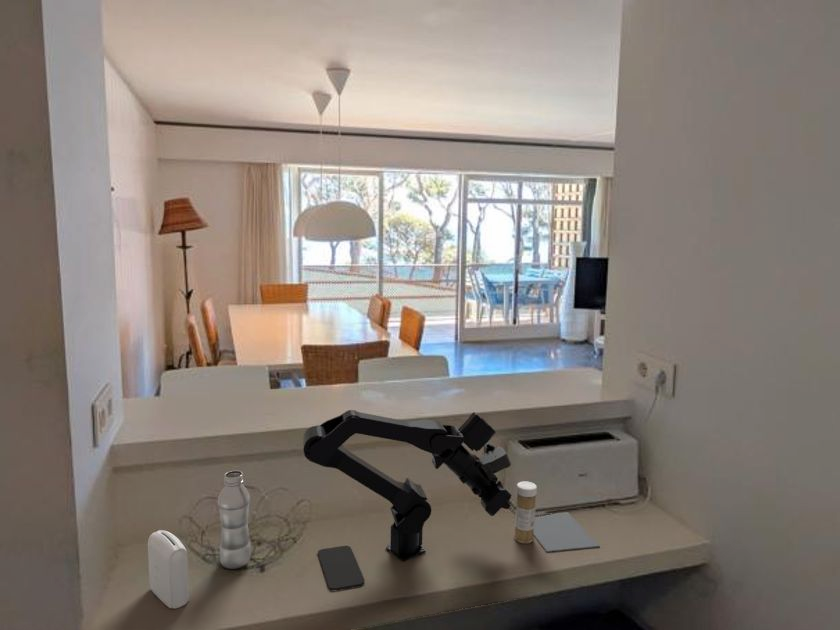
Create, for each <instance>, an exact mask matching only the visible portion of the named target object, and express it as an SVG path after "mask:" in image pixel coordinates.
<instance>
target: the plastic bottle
mask: <svg viewBox="0 0 840 630" xmlns="http://www.w3.org/2000/svg"><path fill="white" fill-rule="evenodd" d="M223 478H224V480H223V485H224V487H223V489H222V490H221V491H220V493H219V495H218V497H217V505H218V506H217V507H218V512H219V516H220V517H219V518H220V527H221V534H220V535H221V536H220V546H219V550H218V551H219V553H218V557H219V561H220V564H221V565H222V566H223V568H226V569H229V570H235V569H236V570H237V569H239V568H243V567H244V566H246V565H247V564H248V563H249V561H250V560H251V558H252V557H251V556H252V544H251V540H250V535H249V509H250V502H251V494H250V493H249V490H248V489H247V488H246V486H245V485H244V475H243V471H241V470H229V471H227V472H225V473H224V477H223Z"/></svg>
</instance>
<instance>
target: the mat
mask: <svg viewBox="0 0 840 630" xmlns="http://www.w3.org/2000/svg"><path fill="white" fill-rule="evenodd" d="M554 513H555V514H552V513H550V514H551V515H546V516H541V517H540V516H539V517H535V523H534V534H533V537H534V539H536V541H537V542H538V543H539V544H540V546H542V548H543V549H544V551H545V552H546V553H553V552H552V551H554V552H562V551H563V550H564V551H570V550H571V551H572V550H573V549H574V550H582V549H591V548H592V549H593V548H600V545H599V543H598V542H597V541H596V540H595V539H594V538H593V537H592V536H591V535H590V534H589V532H587V531H586V530H585V529H584V528H583V526H581V525H580V523H579V521H577V520H576V519H575V518H574V517H573V516H572V515H571V513H569V512H567V511H564V512H554Z"/></svg>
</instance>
